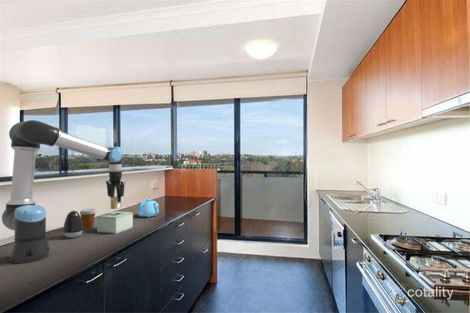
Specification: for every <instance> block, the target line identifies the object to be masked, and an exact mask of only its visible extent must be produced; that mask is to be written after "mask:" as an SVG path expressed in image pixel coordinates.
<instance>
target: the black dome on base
mask: <svg viewBox="0 0 470 313" xmlns="http://www.w3.org/2000/svg"><path fill="white" fill-rule="evenodd" d="M62 228H63V229H62V233H63V234H64V236H65V237H66V238H68V239H75V238H78V237H79V236H81V235H82V233H83V230H84V229H83V224H82V220H81V215H80V212H78V211H76V210H71V211H69V212H68V214H67V215H66V217H65V219H64V223H63V227H62Z"/></svg>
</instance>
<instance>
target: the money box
mask: <svg viewBox="0 0 470 313" xmlns="http://www.w3.org/2000/svg"><path fill="white" fill-rule="evenodd" d="M133 214H134V213H133V212H132V211H131V212H130V211H119V210H118V211H116V210H115V211H111V212H108V213H104V214H100V215H97V216H96V232H97V233H101V232H102V233H103V234H112V233H113V235H116V234H119V233H122V232H124V231H126V230H130V229H132V228H134V226H133V224H134V223H133V221H134V217H133V216H134V215H133ZM102 233H101V234H102Z"/></svg>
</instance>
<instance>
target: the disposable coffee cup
mask: <svg viewBox="0 0 470 313" xmlns="http://www.w3.org/2000/svg"><path fill="white" fill-rule="evenodd" d="M96 212H97V211H96V209H95V208H84V209H81V210H80V211H79V215H80V217H81V220H82V224H83V230H86V231H87V230H92V229H94V225H95V217H96Z"/></svg>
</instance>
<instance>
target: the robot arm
mask: <svg viewBox="0 0 470 313" xmlns="http://www.w3.org/2000/svg"><path fill="white" fill-rule="evenodd" d="M8 135H9V139H10V142H11V143H10V148H11V149H12V150H13V151H14V153H13V163H12V164H13V165H12V166H13V167H12V176H11V177H12V178H11V189H10V190H11V191H10V199H9V200H8V201H7V202H6V203H5V210H4V211H3V213H2V215H1V222H2V224H3V225H4V226H5V228H7V229H9V230H11V231H14V243H13V247H12V249H11V252H10V254H9V262H10V263H12V264H21V263H22V264H23V263H25V264H26V263H30V262H35V261H40V260H43V259H44V258H48V257H49V256H50V255H51V249H50V246H49V243H48V241H47V239H46V234H47V233H46V231H47V230H46V229H47V226H46V224H47V222H46V221H47V220H46V218H47V212H46V208H45V206H43V205H36V203H37V202H36V201H34V199H33V196H34V195H33V194H34V181H35V168H36V167H35V166H36V157H37V156H36V155H37V152H38V151H39V150H40V149H41V145H45V146H49V147H54V146H55V147H56V146H57V147H59V148H63V149H65V150H69V151H73V152H76V153H79V154H82V155H86V156H88V157H89V158H88V159H89V161H90V162H91V163H108V171H109V172H108V177H109V179H108V180H106V181H105V184H106V190H107V196H108V197H110V199H111V198H112V197H116V196H117V198H116V209H119V207H120V202H121V203H122V197H124V195H125V184H126V181H125V180H123V179H122V176H123V171H122V170H123V166H122V165H123V164H122V163H123V160H122V159H123V156H122V155H123V152H122V151H123V150H122V147H120V146H109V147H106V146H104V145H101V144H98V143H96V142H92V141H90V140H86V139H83V138H80V137H78V136H76V135H73V134H69V133H66V132H64V131H61V129H60V128H58V127H56V126H53V125H50V124H48V123H45V122H43V121H40V120H35V119H30V120H26V121H19V122H17V123H15V124H13V125H12V126H11V128H10V129H9V132H8ZM115 191H116V196H115ZM120 208H121V207H120Z"/></svg>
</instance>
